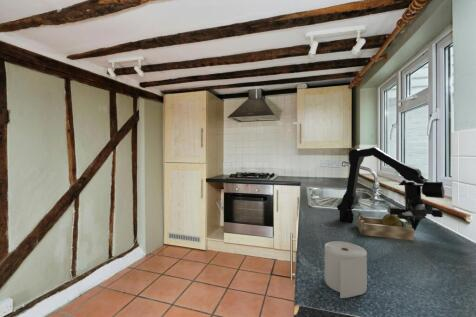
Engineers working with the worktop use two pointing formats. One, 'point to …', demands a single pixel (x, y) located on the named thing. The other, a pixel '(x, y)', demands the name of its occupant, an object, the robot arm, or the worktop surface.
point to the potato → (391, 220)
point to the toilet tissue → (346, 268)
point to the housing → (382, 228)
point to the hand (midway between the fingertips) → (413, 230)
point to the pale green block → (405, 223)
